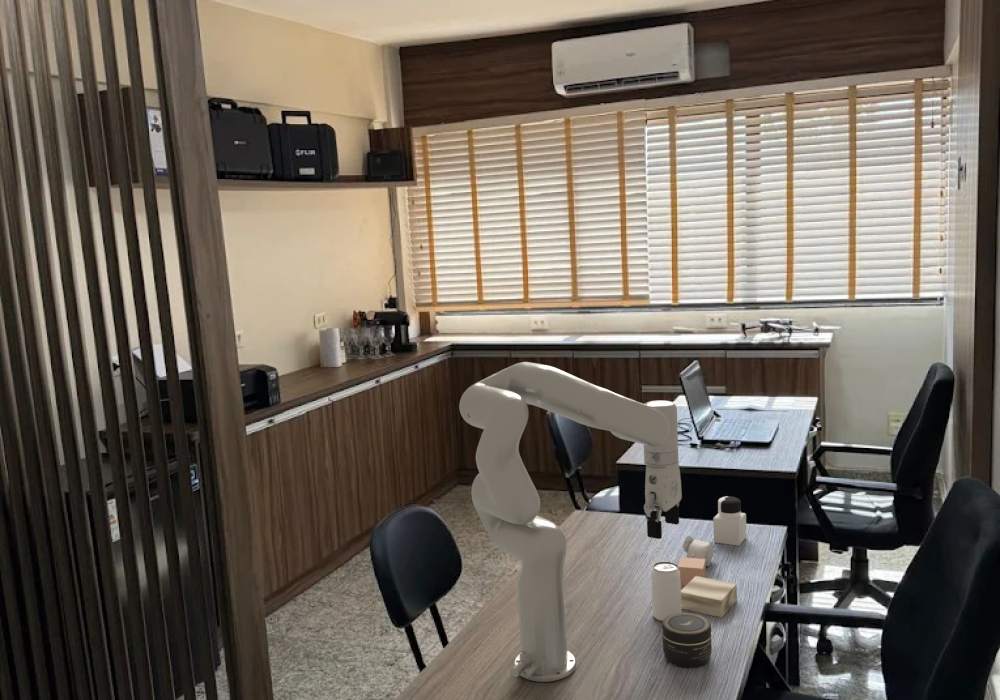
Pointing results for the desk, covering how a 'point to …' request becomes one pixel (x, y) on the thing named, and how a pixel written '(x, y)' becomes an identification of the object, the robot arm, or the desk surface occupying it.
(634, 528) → the desk surface
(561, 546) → the robot arm
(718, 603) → the birch block
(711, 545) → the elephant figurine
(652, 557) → the desk surface
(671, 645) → the jar
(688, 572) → the terracotta block
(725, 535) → the medicine bottle
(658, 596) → the can
